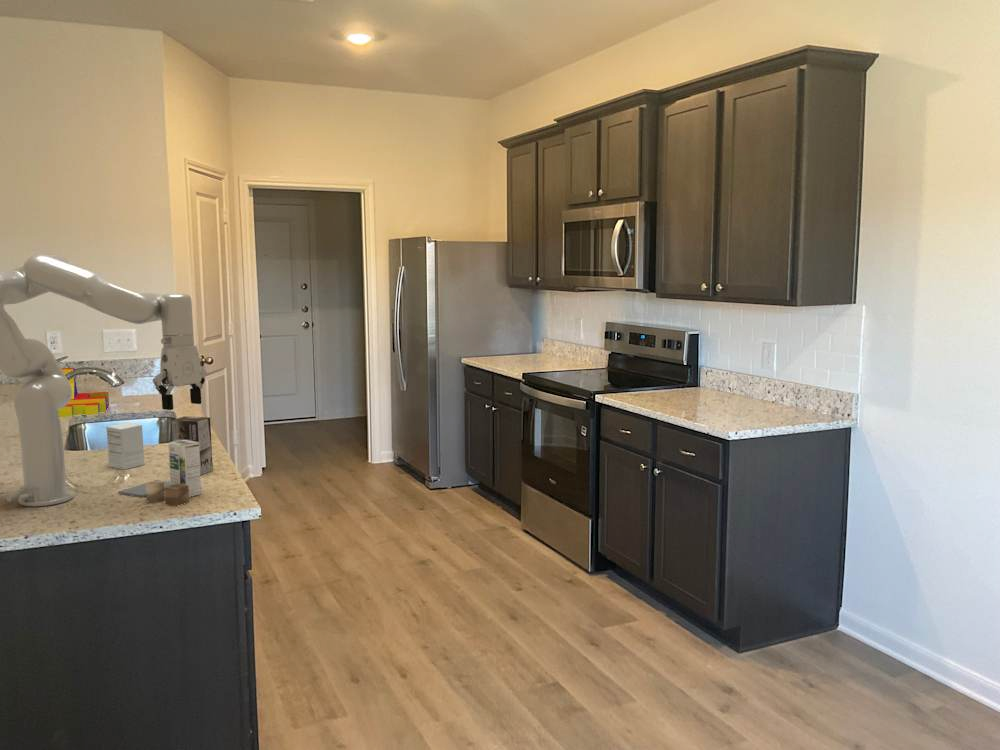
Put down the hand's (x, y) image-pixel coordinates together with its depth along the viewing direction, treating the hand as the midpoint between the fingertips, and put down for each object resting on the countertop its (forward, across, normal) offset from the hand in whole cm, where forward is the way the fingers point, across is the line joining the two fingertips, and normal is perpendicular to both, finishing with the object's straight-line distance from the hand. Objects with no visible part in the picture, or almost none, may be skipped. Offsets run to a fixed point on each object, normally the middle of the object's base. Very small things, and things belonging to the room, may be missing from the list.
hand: (182, 406), depth 213 cm
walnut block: (+24, -7, -3) cm, 25 cm away
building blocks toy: (+24, +75, +133) cm, 155 cm away
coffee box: (+24, +19, +17) cm, 35 cm away
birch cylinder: (+24, -7, +4) cm, 25 cm away
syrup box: (+24, 0, 0) cm, 24 cm away
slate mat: (+24, 0, +13) cm, 27 cm away
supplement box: (+24, +16, +41) cm, 50 cm away
